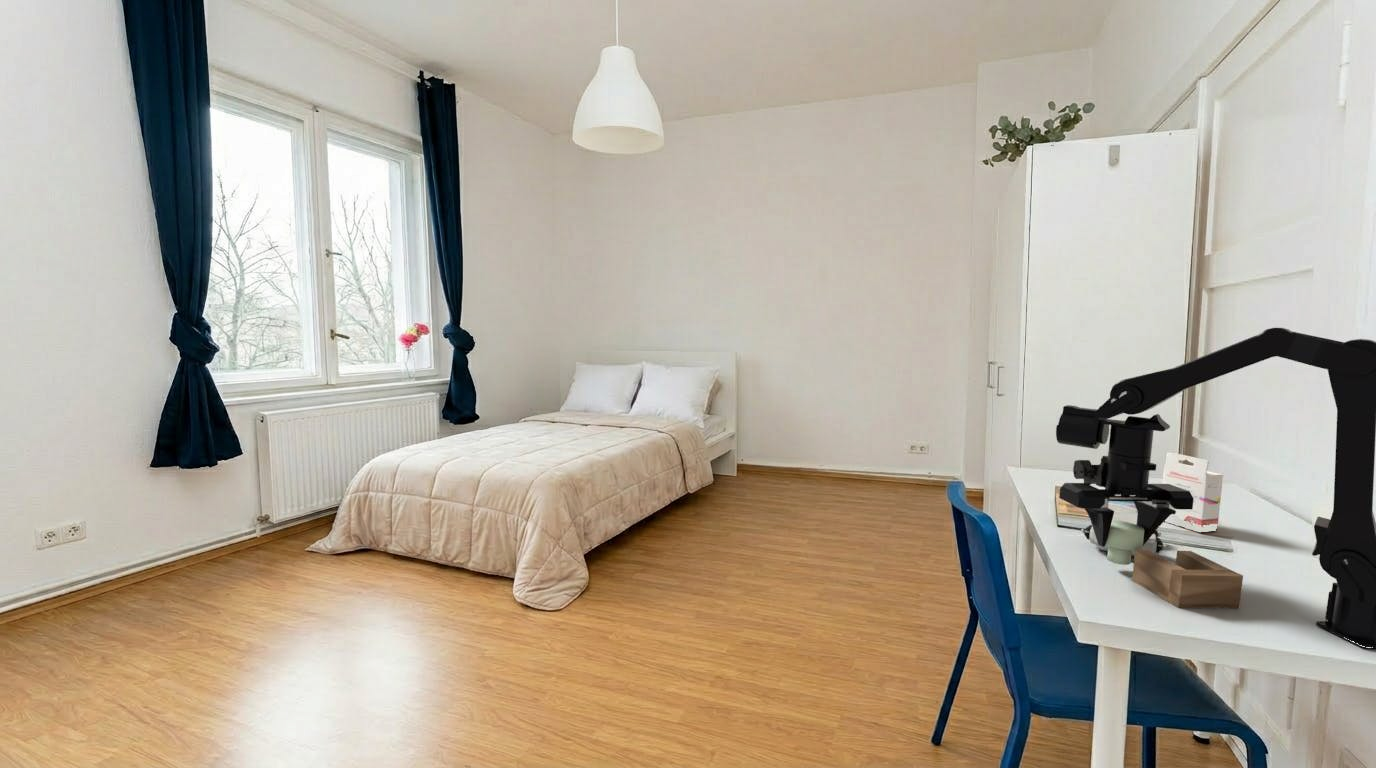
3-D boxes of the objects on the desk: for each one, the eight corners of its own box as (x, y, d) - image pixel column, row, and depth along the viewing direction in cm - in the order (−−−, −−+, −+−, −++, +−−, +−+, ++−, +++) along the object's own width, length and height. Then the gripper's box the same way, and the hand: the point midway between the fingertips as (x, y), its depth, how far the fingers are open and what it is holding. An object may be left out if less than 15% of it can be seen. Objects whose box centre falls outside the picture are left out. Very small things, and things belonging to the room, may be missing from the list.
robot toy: (1086, 533, 126) (1078, 550, 114) (1088, 511, 125) (1081, 526, 113) (1162, 548, 118) (1163, 568, 106) (1165, 524, 118) (1166, 542, 106)
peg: (1149, 568, 102) (1153, 532, 101) (1113, 568, 102) (1116, 532, 101) (1123, 554, 108) (1127, 520, 107) (1089, 553, 108) (1092, 519, 107)
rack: (1239, 608, 92) (1243, 575, 92) (1178, 607, 92) (1182, 575, 92) (1187, 580, 102) (1190, 550, 101) (1132, 580, 102) (1135, 550, 101)
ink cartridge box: (1218, 532, 125) (1227, 459, 123) (1200, 534, 124) (1209, 460, 122) (1174, 518, 133) (1181, 450, 132) (1157, 520, 132) (1164, 451, 130)
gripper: (1149, 444, 111) (1140, 529, 113) (1044, 442, 111) (1037, 528, 113) (1201, 459, 100) (1190, 553, 102) (1084, 457, 100) (1076, 552, 101)
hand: (1120, 546), depth 105 cm, fingers closed on peg, 6 cm apart
